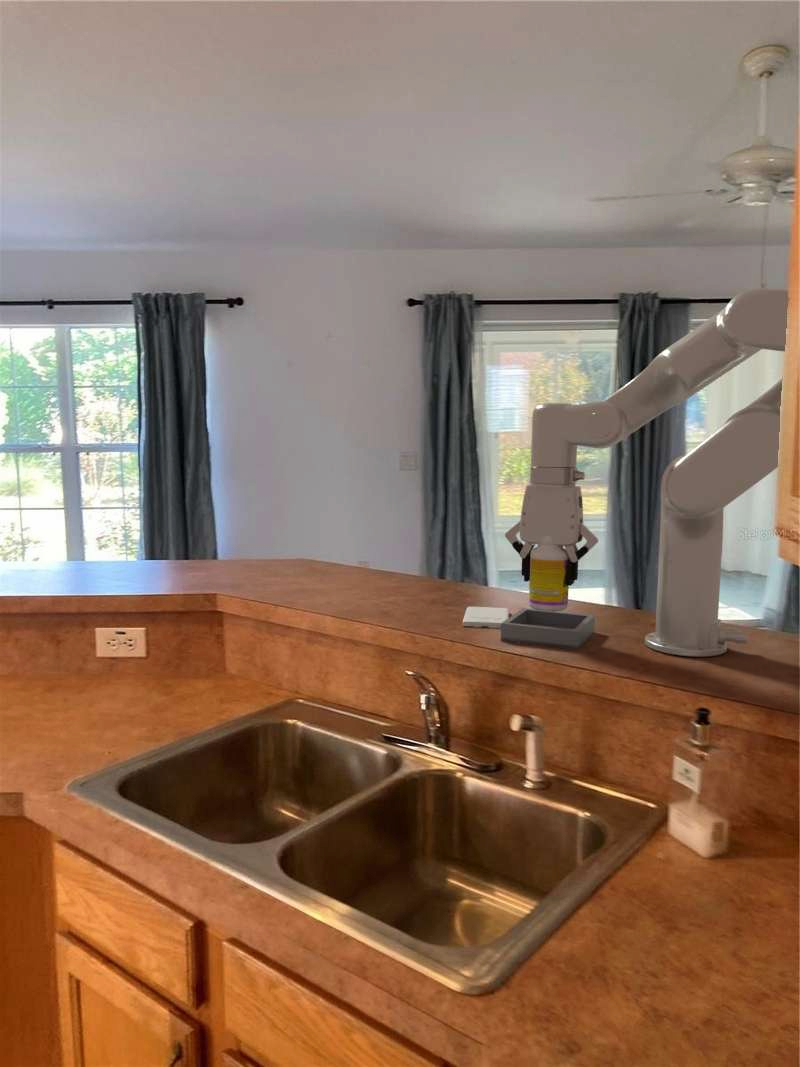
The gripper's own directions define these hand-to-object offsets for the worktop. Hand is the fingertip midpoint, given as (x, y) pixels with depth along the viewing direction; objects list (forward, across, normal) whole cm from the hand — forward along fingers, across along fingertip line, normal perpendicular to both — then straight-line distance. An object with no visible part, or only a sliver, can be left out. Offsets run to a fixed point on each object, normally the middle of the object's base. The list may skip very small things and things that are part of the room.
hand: (549, 581), depth 134 cm
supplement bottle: (+5, 0, 0) cm, 5 cm away
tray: (+10, 0, 0) cm, 10 cm away
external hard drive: (+10, +14, -7) cm, 19 cm away
